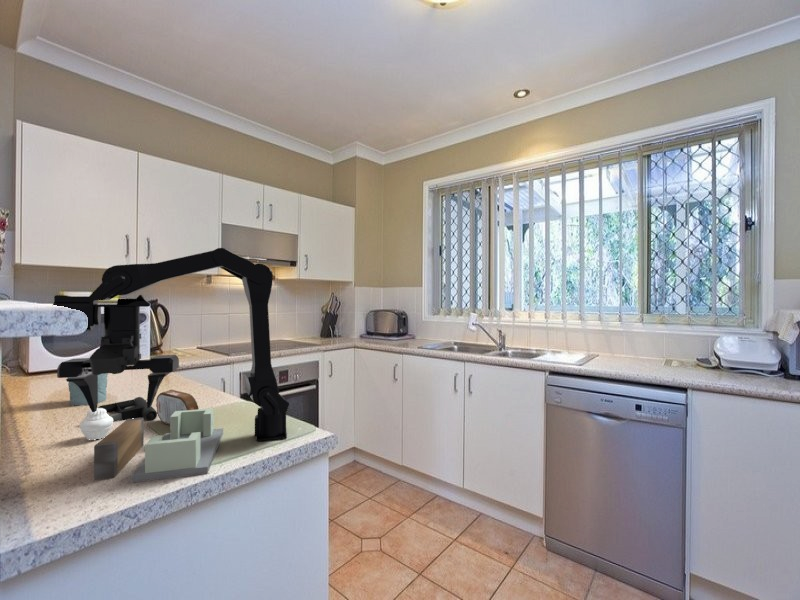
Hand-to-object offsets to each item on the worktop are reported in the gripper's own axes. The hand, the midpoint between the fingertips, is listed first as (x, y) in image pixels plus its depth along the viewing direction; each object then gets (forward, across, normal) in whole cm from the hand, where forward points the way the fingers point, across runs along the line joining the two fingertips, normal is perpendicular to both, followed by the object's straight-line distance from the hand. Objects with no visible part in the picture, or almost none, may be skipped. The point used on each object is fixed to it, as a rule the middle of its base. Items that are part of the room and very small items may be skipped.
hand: (122, 409), depth 76 cm
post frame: (+10, +11, 0) cm, 15 cm away
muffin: (+10, -10, +16) cm, 22 cm away
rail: (+10, 0, 0) cm, 10 cm away
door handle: (+11, -11, +34) cm, 37 cm away
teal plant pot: (+10, -26, +53) cm, 60 cm away
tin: (+10, +5, +21) cm, 24 cm away
